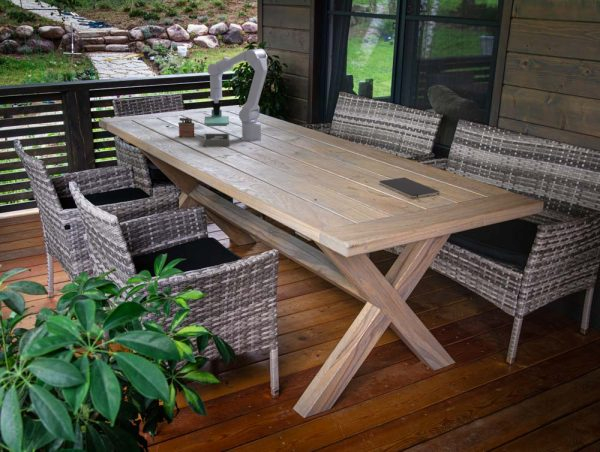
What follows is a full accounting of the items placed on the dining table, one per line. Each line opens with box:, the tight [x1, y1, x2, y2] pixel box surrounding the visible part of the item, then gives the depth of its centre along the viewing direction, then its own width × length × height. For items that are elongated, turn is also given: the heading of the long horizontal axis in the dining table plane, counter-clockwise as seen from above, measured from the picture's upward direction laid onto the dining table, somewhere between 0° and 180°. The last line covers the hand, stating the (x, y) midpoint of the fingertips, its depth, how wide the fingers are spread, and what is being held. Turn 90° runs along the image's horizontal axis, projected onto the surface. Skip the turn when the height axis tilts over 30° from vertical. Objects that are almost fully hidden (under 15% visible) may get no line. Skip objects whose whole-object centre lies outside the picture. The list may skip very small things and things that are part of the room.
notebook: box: [378, 177, 440, 198], centre depth 244 cm, size 13×2×21 cm
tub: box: [203, 133, 230, 147], centre depth 308 cm, size 12×14×4 cm
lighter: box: [178, 117, 196, 139], centre depth 319 cm, size 8×3×10 cm, turn 84°
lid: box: [203, 109, 230, 127], centre depth 319 cm, size 12×14×5 cm
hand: (216, 115), depth 325 cm, fingers closed on lid
